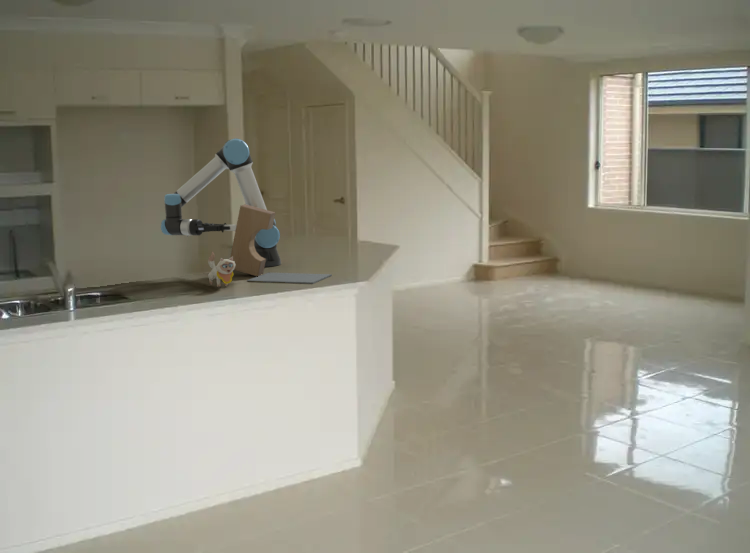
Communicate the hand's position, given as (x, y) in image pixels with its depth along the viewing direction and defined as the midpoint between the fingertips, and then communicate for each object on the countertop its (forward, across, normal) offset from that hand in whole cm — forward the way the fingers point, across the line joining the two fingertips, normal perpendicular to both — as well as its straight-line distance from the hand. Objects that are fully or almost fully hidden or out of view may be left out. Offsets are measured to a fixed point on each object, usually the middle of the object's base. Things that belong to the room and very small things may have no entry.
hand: (237, 227), depth 411 cm
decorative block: (+2, -2, -21) cm, 21 cm away
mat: (+27, +3, -22) cm, 35 cm away
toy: (+5, +28, -23) cm, 36 cm away
